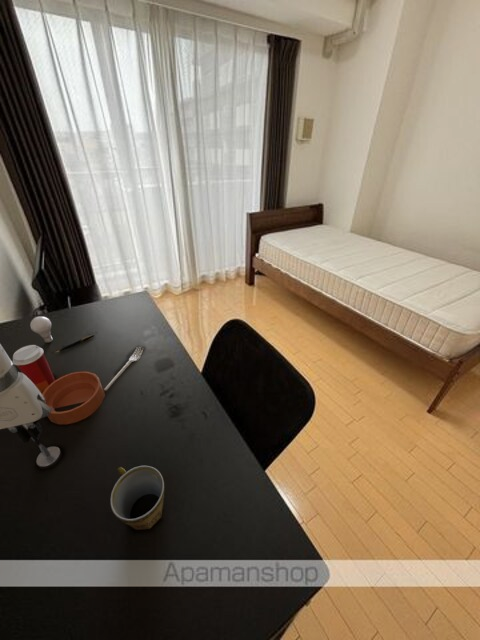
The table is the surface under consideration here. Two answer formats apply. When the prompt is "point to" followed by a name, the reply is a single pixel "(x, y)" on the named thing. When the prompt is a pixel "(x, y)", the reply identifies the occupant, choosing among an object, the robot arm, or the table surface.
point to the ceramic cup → (137, 495)
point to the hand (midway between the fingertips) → (33, 435)
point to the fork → (131, 359)
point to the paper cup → (34, 366)
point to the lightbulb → (42, 327)
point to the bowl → (74, 396)
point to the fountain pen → (76, 343)
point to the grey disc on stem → (45, 453)
